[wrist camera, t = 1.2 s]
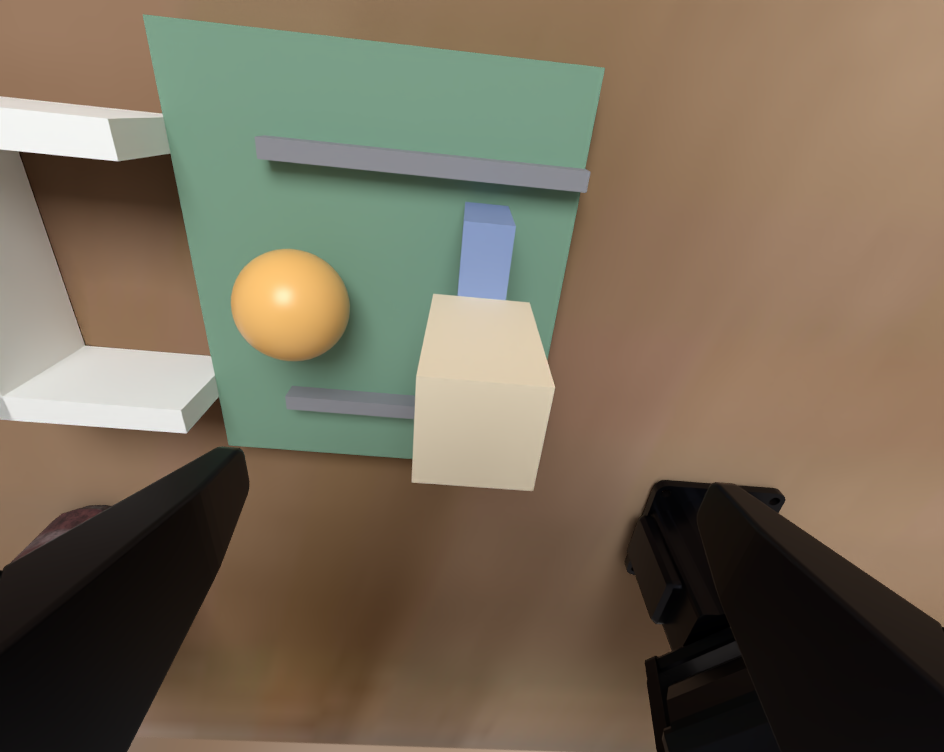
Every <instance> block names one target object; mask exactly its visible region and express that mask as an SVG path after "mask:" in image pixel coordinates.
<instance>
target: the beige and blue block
mask: <svg viewBox="0 0 944 752" xmlns="http://www.w3.org/2000/svg"><path fill="white" fill-rule="evenodd" d="M515 229H516V225H515V222H514V220H513V217H512V214H511V212H510V209H509V206H503V205H493V204H483V203H473V202H465V210H464V222H463V234H462V246H461V258H460V270H459V281H458V293H457V296H453V295H442V294H433V297H432V302H431V307H430V312H429V317H428V322H427V326H426V331H425V336H424V341H423V346H422V350H421V355H420V360H419V365H418V370H417V374H416V391H415V415H414V438H413V462H412V482H413V483H427V484H441V485H455V486H469V487H483V488H497V489H511V490H525V491H533V489H534V484H535V480H536V475H537V470H538V466H539V461H540V456H541V451H542V447H543V442H544V437H545V433H546V428H547V423H548V419H549V414H550V409H551V405H552V400H553V395H554V391H555V386H554V382H553V379H552V375H551V372H550V369H549V365H548V362H547V359H546V355H545V352H544V349H543V345H542V342H541V339H540V335H539V332H538V329H537V325H536V322H535V319H534V315H533V312H532V309H531V305H530V302H519V301H508V300H506V295H507V287H508V280H509V273H510V266H511V258H512V251H513V244H514V237H515Z"/></svg>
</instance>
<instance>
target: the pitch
mask: <svg viewBox="0 0 944 752" xmlns="http://www.w3.org/2000/svg"><path fill="white" fill-rule="evenodd" d="M143 19H144V24H145V29H146V34H147V39H148V44H149V49H150V54H151V59H152V64H153V69H154V74H155V79H156V84H157V89H158V94H159V99H160V104H161V109H162V114H163V119H164V124H165V129H166V134H167V139H168V144H169V149H170V154H171V159H172V164H173V169H174V174H175V179H176V184H177V189H178V194H179V199H180V204H181V209H182V214H183V219H184V224H185V229H186V234H187V239H188V244H189V249H190V254H191V259H192V264H193V269H194V274H195V279H196V284H197V289H198V294H199V299H200V304H201V309H202V314H203V319H204V324H205V329H206V334H207V339H208V344H209V349H210V354H211V359H212V364H213V369H214V374H215V379H216V384H217V389H218V394H219V399H220V404H221V409H222V414H223V419H224V424H225V429H226V434H227V439H228V444H229V445H231V446H245V447H258V448H272V449H285V450H299V451H312V452H326V453H339V454H353V455H366V456H380V457H393V458H407V459H413V438H414V415H415V391H416V374H417V370H418V365H419V360H420V355H421V350H422V346H423V341H424V336H425V331H426V326H427V322H428V317H429V312H430V307H431V302H432V297H433V294H442V295H453V296H457V293H458V281H459V270H460V258H461V246H462V234H463V222H464V210H465V202H473V203H483V204H493V205H503V206H509V209H510V212H511V214H512V217H513V220H514V222H515V225H516V229H515V237H514V244H513V251H512V258H511V266H510V273H509V280H508V287H507V295H506V300H508V301H519V302H530V305H531V309H532V312H533V315H534V319H535V322H536V325H537V329H538V332H539V335H540V339H541V342H542V345H543V349H544V352H545V355H546V359H548V354H549V349H550V344H551V339H552V334H553V329H554V324H555V319H556V314H557V309H558V303H559V298H560V293H561V288H562V283H563V278H564V273H565V268H566V263H567V258H568V253H569V248H570V243H571V237H572V232H573V227H574V222H575V217H576V212H577V207H578V202H579V197H580V192H584V193H586V192H587V187H588V182H589V177H590V171H588V170H586V169H585V166H586V161H587V156H588V151H589V146H590V141H591V136H592V131H593V126H594V121H595V116H596V111H597V106H598V100H599V95H600V90H601V85H602V80H603V75H604V70H605V68H601V67H593V66H584V65H575V64H567V63H558V62H549V61H541V60H532V59H523V58H515V57H506V56H498V55H489V54H480V53H472V52H463V51H454V50H446V49H437V48H428V47H420V46H411V45H402V44H394V43H385V42H377V41H368V40H359V39H351V38H342V37H333V36H325V35H316V34H307V33H299V32H290V31H281V30H273V29H264V28H256V27H247V26H238V25H230V24H221V23H212V22H204V21H195V20H186V19H178V18H169V17H161V16H152V15H143ZM279 249H296V250H301V251H305V252H309V253H311V254H314V255H316V256H318V257H319V258H321V259H323V260H324V261H326V262H327V263H328V264H329V265H330V266H331V267H333V268H334V270H335V271H336V272H337V273H338V274H339V276H340V277H341V279H342V281H343V282H344V284H345V287H346V289H347V292H348V296H349V301H350V315H349V320H348V324H347V327H346V329H345V331H344V333H343V335H342V336H341V338H340V339H339V340H338V342H337V343H336V344H335V345H334V346H333V347H332V348H331V349H329V350H328V351H326V352H325V353H323V354H322V355H320V356H317V357H315V358H312V359H309V360H304V361H283V360H278V359H275V358H272V357H269V356H267V355H265V354H263V353H261V352H259V351H258V350H256V349H255V348H254V347H252V346H251V345H250V344H249V343H248V342H247V341H246V340H245V339H244V337H243V336H242V335H241V333H240V332H239V330H238V328H237V326H236V324H235V322H234V319H233V315H232V311H231V294H232V289H233V285H234V283H235V280H236V279H237V277H238V275H239V273H240V272H241V270H242V269H243V268H244V267H245V266H246V265H247V264H248V263H249V262H250V261H252V260H253V259H254V258H256V257H258V256H260V255H262V254H264V253H266V252H269V251H273V250H279Z"/></svg>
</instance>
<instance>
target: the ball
mask: <svg viewBox="0 0 944 752" xmlns="http://www.w3.org/2000/svg"><path fill="white" fill-rule="evenodd" d="M231 311H232V315H233V319H234V322H235V324H236V326H237V328H238V330H239V332H240V333H241V335H242V336H243V337H244V339H245V340H246V341H247V342H248V343H249V344H250V345H251V346H252V347H254V348H255V349H256V350H258V351H259V352H261V353H263V354H265V355H267V356H269V357H272V358H275V359H278V360H283V361H304V360H309V359H312V358H315V357H317V356H320V355H322V354H323V353H325V352H326V351H328V350H329V349H331V348H332V347H333V346H334V345H335V344H336V343H337V342H338V340H339V339H340V338H341V336H342V335H343V333H344V331H345V329H346V327H347V324H348V320H349V315H350V301H349V296H348V292H347V289H346V287H345V284H344V282H343V281H342V279H341V277H340V276H339V274H338V273H337V272H336V271H335V270H334V268H333V267H331V266H330V265H329V264H328V263H327V262H326V261H324V260H323V259H321V258H319V257H318V256H316V255H314V254H311V253H309V252H305V251H301V250H296V249H279V250H273V251H269V252H266V253H264V254H262V255H260V256H258V257H256V258H254V259H253V260H252V261H250V262H249V263H248V264H247V265H246V266H245V267H244V268H243V269H242V270H241V272H240V273H239V275H238V277H237V279H236V280H235V283H234V285H233V289H232V294H231Z"/></svg>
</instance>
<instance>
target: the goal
mask: <svg viewBox="0 0 944 752" xmlns="http://www.w3.org/2000/svg"><path fill="white" fill-rule="evenodd" d="M18 151H21V152H31V153H41V154H51V155H61V156H71V157H81V158H90V159H100V160H110V161H124V160H131V159H137V158H144V157H151V156H157V155H164V154H170V149H169V144H168V139H167V134H166V129H165V124H164V119H163V114H160V113H151V112H142V111H132V110H123V109H113V108H104V107H95V106H85V105H76V104H66V103H57V102H47V101H38V100H29V99H19V98H10V97H0V419H1V420H14V421H27V422H41V423H54V424H68V425H81V426H94V427H108V428H121V429H134V430H148V431H161V432H174V433H188V431H189V430H190V429H191V428H192V427H193V426H194V425H195V423H196V422H197V421H198V420H199V419H200V418H201V417H202V415H203V414H204V413H205V412H206V411H207V410H208V409H209V407H210V406H211V405H212V404H213V403H214V402H215V401H216V399H217V398H218V397H219V394H218V389H217V384H216V379H215V374H214V369H213V364H212V359H211V356H203V355H191V354H179V353H167V352H155V351H143V350H131V349H119V348H107V347H95V346H85V344H84V341H83V338H82V335H81V332H80V329H79V326H78V323H77V320H76V318H75V315H74V312H73V309H72V306H71V303H70V300H69V297H68V294H67V291H66V288H65V286H64V283H63V280H62V277H61V274H60V271H59V268H58V265H57V262H56V259H55V256H54V254H53V251H52V248H51V245H50V242H49V239H48V236H47V233H46V230H45V227H44V224H43V222H42V219H41V216H40V213H39V210H38V207H37V204H36V201H35V198H34V195H33V192H32V190H31V187H30V184H29V181H28V178H27V175H26V172H25V169H24V166H23V163H22V160H21V158H20V155H19V152H18Z"/></svg>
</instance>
